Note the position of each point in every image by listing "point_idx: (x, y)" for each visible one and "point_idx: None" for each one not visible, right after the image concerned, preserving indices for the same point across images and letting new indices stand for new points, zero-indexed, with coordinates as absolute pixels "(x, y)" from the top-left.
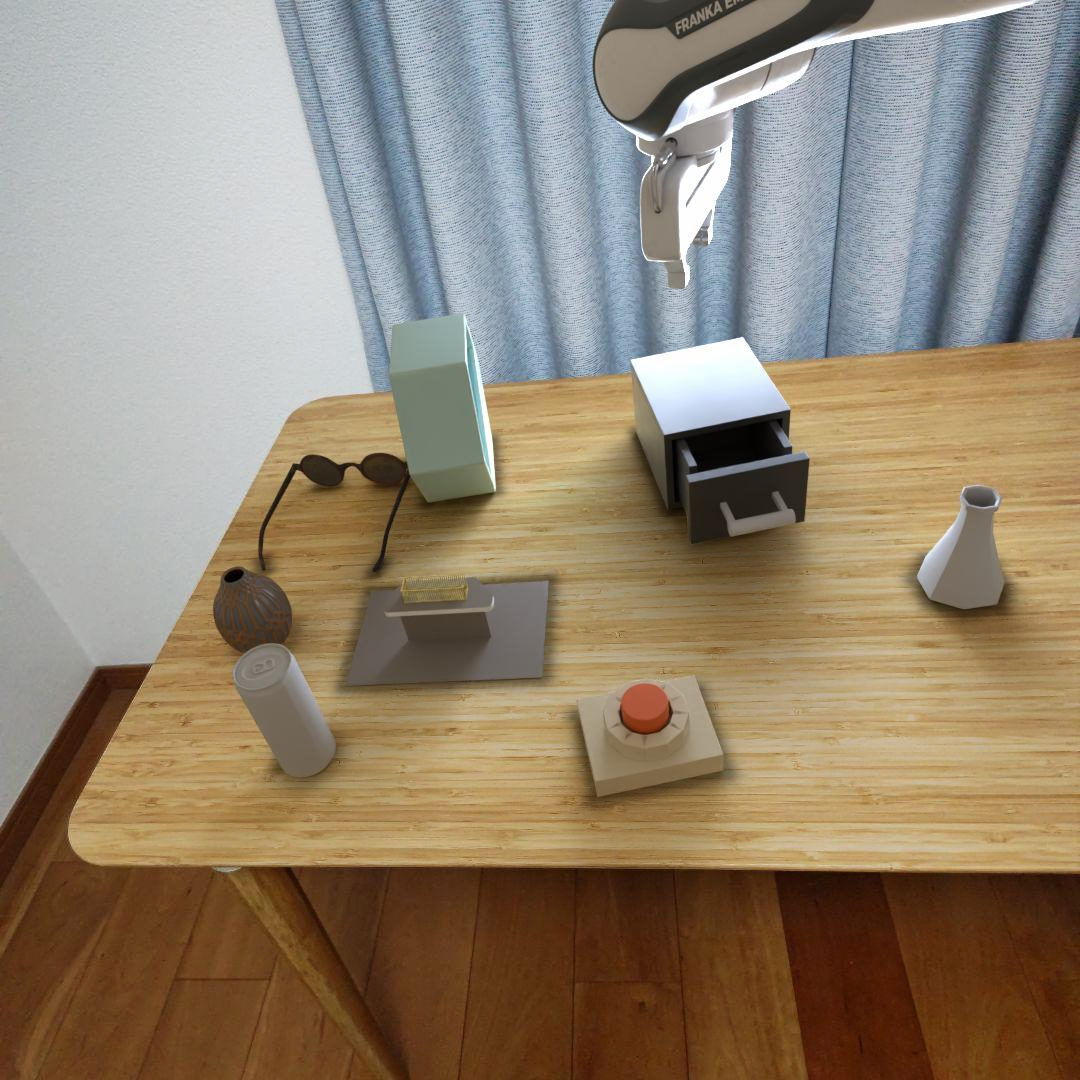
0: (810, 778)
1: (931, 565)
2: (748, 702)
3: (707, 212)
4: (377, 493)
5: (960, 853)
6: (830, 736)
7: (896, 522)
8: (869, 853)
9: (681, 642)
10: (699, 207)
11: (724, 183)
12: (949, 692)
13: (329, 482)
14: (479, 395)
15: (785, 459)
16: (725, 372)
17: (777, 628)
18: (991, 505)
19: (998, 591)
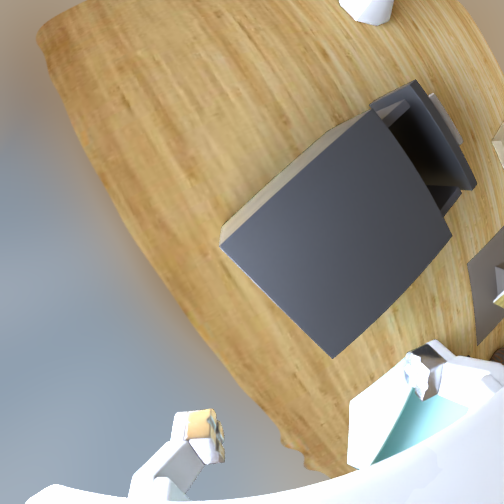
0: (491, 81)
1: (383, 13)
2: (484, 112)
3: (341, 485)
4: None
5: (479, 31)
6: (477, 73)
7: (328, 39)
8: (495, 61)
9: (476, 158)
10: (482, 475)
11: (76, 495)
12: (432, 20)
13: None
14: (393, 425)
15: (427, 101)
16: (327, 225)
17: (450, 104)
18: None
19: None
